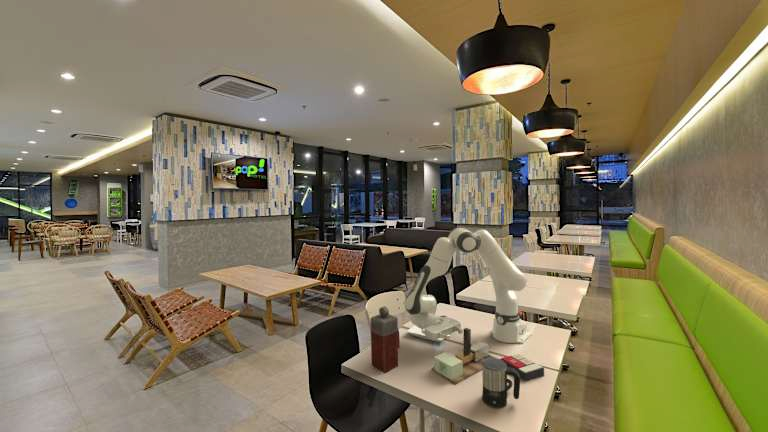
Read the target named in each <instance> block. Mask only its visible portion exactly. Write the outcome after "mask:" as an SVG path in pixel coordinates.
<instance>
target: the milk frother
mask: <svg viewBox="0 0 768 432" xmlns="http://www.w3.org/2000/svg"><path fill="white" fill-rule="evenodd" d="M501 359H502V358H497V357H495V358H485V359H483V360H482V362H481V364H482V370H481V371H482V395H481V400H482V402H483V403H484V404H486V405H487V406H488V407H491V408H494V409H495V408H497V409H499V408H503V407H505V406H506V405H507V404H508V391H509V390H511V389H512V388H513V392H512V393H513V394H512V395H513V398H514V400H518V399H519V398H520V390H521V389H520V388H521V378H520V376H519V373H518V372H517V371H516V370H515V369H513V368H510V367H507V364H506V363H505V362H504V361H503V360H501ZM508 376H512V377H513V381H512V380H511V379H510V378H508Z"/></svg>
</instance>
